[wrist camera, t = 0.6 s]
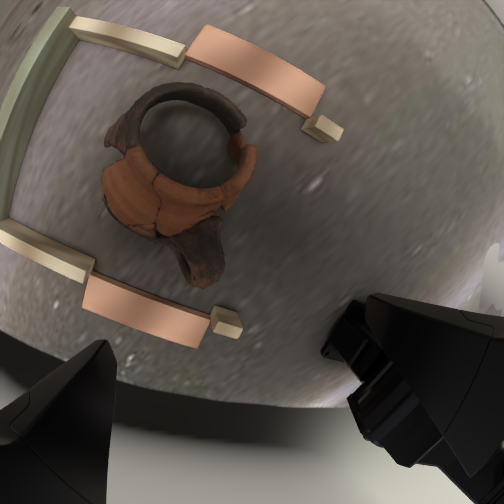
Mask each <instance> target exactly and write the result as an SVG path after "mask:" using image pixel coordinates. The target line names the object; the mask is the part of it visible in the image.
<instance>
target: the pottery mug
mask: <svg viewBox="0 0 504 504" xmlns="http://www.w3.org/2000/svg"><path fill="white" fill-rule="evenodd" d="M169 100H183V101H188V102H190V103H193V104H195V105H198V106H201V107H203V108H205V109H207V110H208V111H210V112H212V113H213V114H214V115H216V116H217V117H218V118H219V119H220V120H221V122H222V123H223V124H224V126H225V127H226V128H227V130H228V132H229V133H230V135H231V139H230V142H229V146H228V150H229V153H230V155H231V156H232V158H233V160H234V161H235V163H236V164H237V165H238V167H237V170H236V172H235V173H234V175H233V176H232V177H231V178H230V179H229V180H228V181H227V182H225V183H223V184H221V185H219V186H218V187H212V188H193V187H189V186H185V185H182V184H180V183H177V182H175V181H173V180H171V179H169V178H168V177H166V176H165V175H163V174H162V173H160V172H159V171H158V170H157V169H156V168H155V166H154V165H153V164H152V163H151V162H150V160H149V159H148V158H147V156H146V154H145V152H144V150H143V147H142V146H141V144H140V125H141V122H142V119H143V117H144V116H145V114H146V113H147V111H148V110H149V109H150V108H151V107H153V106H155V105H157V104H159V103H162V102H165V101H169ZM246 123H247V119H246V117H245V116H244V114H243V113H242V112H241V111H240V110H239V109H238V107H237V106H235V105H234V104H233V103H232V102H231V101H230V100H229V99H228V98H226V97H225V96H223V95H222V94H220V93H218V92H216V91H214V90H212V89H209V88H204V87H203V86H201V85H197V84H194V83H182V82H174V83H166V84H162V85H160V86H157V87H154V88H152V89H151V90H150V91H148V92H146V93H145V94H144V95H143V96H141V97H140V99H138V100H137V101H135V103H134V105H133V106H132V107H131V108H130V110H129V111H127V112H126V113H125V114H123V115H122V116H121V117H120V118H119V119H118V120H117V122H116V123H115V124H114V125H113V126H111V127H110V128H109V129H108V132H107V134H106V137H105V140H104V146H105V147H110V146H113V147H114V148H116V149H118V150H119V151H120V152H121V153H122V154H123V155H124V158H123V159H120V160H118V161H116V162H115V163H114V164H112V165H110V166H108V167H107V168H105V169H104V170H103V175H102V179H101V190H102V194H103V199H104V203H105V206H106V208H107V210H108V212H109V213H110V214H111V216H112V217H113V218H114V219H115V220H117V221H118V222H119V223H120V224H122V225H123V226H125V227H126V228H128V229H129V230H131V231H133V232H135V233H136V234H138V235H140V236H141V237H144V238H146V239H148V240H151V241H153V242H155V243H165V244H166V245H167V246H168V247H170V248H171V250H172V251H173V252H174V253H175V255H176V258H177V260H178V262H179V265H180V268H181V271H182V273H183V275H184V277H185V279H186V281H187V282H188V283H189V285H190V286H192V287H198V288H202V289H204V288H207V287H208V286H210V285H212V284H213V283H215V282H217V281H218V280H219V278H220V277H221V275H222V274H223V272H224V268H225V261H224V252H223V248H222V245H221V242H220V230H221V227H222V219H221V218H220V217H219V216H211V215H213V214H214V213H215V211H216V210H217V209H218V208H219V207H221V209H222V210H224V211H227V210H228V209H229V208H230V207H231V206H232V204H233V203H234V202H235V200H236V199H237V197H238V195H239V194H240V193H241V191H242V189H243V187H244V186H245V185H246V184H247V183H248V181H249V180H250V179H251V177H252V174H253V172H254V169H255V166H256V160H257V149H256V146H255V145H246V142H245V140H244V138H243V136H242V134H241V132H240V129H241V128H243V127H245V125H246Z"/></svg>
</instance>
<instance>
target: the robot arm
mask: <svg viewBox="0 0 504 504" xmlns="http://www.w3.org/2000/svg"><path fill="white" fill-rule="evenodd" d="M355 305H356V307H355ZM326 352H327V353H326ZM321 355H322V356H323V357H324V358H328V359H333V360H338V361H343V362H345V363H346V364H347V366H348V367H349V368H350V369H351V371H352V372H353V373H354V374H355V376H356V377H357V378H358V380H359V381H360V382H361V383H362V384H361V386H360V387H359V388H358V389H357V390H356V391H355V392H354V393H353V394H350V395H349V396H348V397H347V400H348V403H349V406H350V409H351V411H352V413H353V416H354V419H355V421H356V423H357V426H358V428H359V430H360V433H361V434H362V435H363V438H364V439H365V440H367V441H371V442H372V443H373V444H375V445H376V446H379V447H382V448H385V450H386V451H387V452H388V453H389V454H390V455H391V457H392V458H393V459H394V460H395V462H396V463H397V464H399V465H402V466H405V467H408V468H411V467H412V466H413V465H415V464H421V465H428V466H436V467H438V468H439V469H440V470H441V471H442V472H443V473H444V474H445V475H446V476H447V477H448V478H449V479H450V480H451V481H452V482H453V483H454V484H455V485H456V486H457V487H458V488H459V489H460V490H461V491H462V492H463V493H464V494H465V495H466V496H467V497H468V498H469V499H470V500H471V501H472V502H473V503H474V504H504V317H501V316H494V315H487V314H480V313H474V312H469V311H464V310H458V309H454V308H449V307H444V306H439V305H434V304H429V303H424V302H419V301H415V300H410V299H405V298H400V297H395V296H391V295H386V294H381V293H375V294H371V295H369V296H368V297H367V303H366V304H365V303H363V302H360V301H358V300H354V301H353V302H352V303H351V304H350V306H349V308H348V309H347V311H346V313H345V315H344V316H343V318H342V319H341V321H340V323H339V324H338V326H337V328H336V329H335V331H334V332H333V334H332V335H331V337H330V339H329V340H328V342H327V343H326V345H325V346H324V348H323V349H322V351H321ZM116 374H117V361H116V358H115V356H114V353H113V351H112V348H111V346H110V343H109V342H108V340H105V339H104V340H96V341H94V342H93V343H91V344H90V345H89V346H87V347H86V348H85V349H83V350H82V351H80V352H79V353H78V354H76V355H75V356H74V357H72V358H71V359H70V360H68V361H67V362H65V363H64V364H63V365H61V366H60V367H59V368H57V369H56V370H55V371H53V372H52V373H51V374H49V375H48V376H47V377H45V378H44V379H43V380H41V381H40V382H39V383H37V384H36V385H35V386H33V387H32V388H31V389H30V390H28V391H26V392H25V393H24V394H23V395H21V396H20V397H18V398H17V399H16V400H14V401H13V402H12V403H10V404H9V405H7V406H6V407H4V408H3V409H1V410H0V504H106V491H107V471H108V458H109V448H110V439H111V438H110V437H111V430H112V421H113V415H114V407H115V396H116Z"/></svg>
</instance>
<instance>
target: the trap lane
mask: <svg viewBox="0 0 504 504" xmlns="http://www.w3.org/2000/svg"><path fill="white" fill-rule="evenodd" d="M79 39H80V40H84V41H89V42H93V43H97V44H101V45H105V46H109V47H112V48H116V49H119V50H123V51H126V52H129V53H133V54H136V55H139V56H142V57H145V58H148V59H151V60H154V61H157V62H160V63H162V64H165V65H168V66H170V67H173V68H176V69H179V67H180V66H181V64H182V63H183V61H184V60H185V59H188V60H190V61H193V62H195V63H198V64H200V65H202V66H205V67H207V68H209V69H212V70H214V71H216V72H219V73H221V74H223V75H225V76H227V77H230V78H232V79H234V80H236V81H238V82H240V83H242V84H244V85H246V86H248V87H250V88H252V89H254V90H256V91H258V92H260V93H262V94H264V95H265V96H267V97H269V98H271V99H273V100H275V101H276V102H278V103H280V104H282V105H284V106H285V107H287V108H289V109H291V110H292V111H294V112H296V113H297V114H299V115H301V116H302V117H304V118H306V120H305V122H304V124H303V126H302V128H301V130H302V131H304V132H305V133H307V134H309V135H310V136H312V137H314V138H315V139H317V140H318V141H320V142H322V143H326V142H336V141H339V139H340V136H341V134H342V132H343V129H342V128H341V127H339V126H338V125H336V124H335V123H333V122H332V121H330V120H329V119H327V118H326V117H324V116H323V115H321V114H320V115H317V116H313V117H311V115H312V113H313V111H314V109H315V107H316V105H317V103H318V101H319V99H320V97H321V96H322V94H323V92H324V90H325V88H326V86H324V85H323V84H321V83H320V82H318V81H317V80H315V79H314V78H312V77H311V76H309V75H307V74H306V73H304V72H302V71H301V70H299V69H297V68H296V67H294V66H292V65H291V64H289V63H287V62H285V61H284V60H282V59H280V58H278V57H276V56H274V55H273V54H271V53H269V52H267V51H265V50H263V49H261V48H259V47H257V46H255V45H253V44H251V43H249V42H247V41H245V40H242V39H240V38H238V37H236V36H234V35H231V34H229V33H227V32H224V31H222V30H220V29H217V28H215V27H212V26H210V25H207V24H206V25H205V27H204V28H203V29H202V31H201V32H200V34H199V35H198V36H197V38H196V39H195V41H194V42H193V44H192V45H191V47H190V48H189V50H188V51H187V53H186V54H185V45H183V44H180V43H178V42H175V41H172V40H169V39H166V38H163V37H160V36H157V35H154V34H150V33H147V32H144V31H140V30H137V29H133V28H130V27H126V26H122V25H118V24H114V23H109V22H105V21H100V20H95V19H90V18H84V17H78V16H76V15H75V14H74V12H73V11H72V10H71V8H69V7H60V6H58V7H57V8H56V10H55V11H54V12H53V14H52V15H51V17H50V18H49V19H48V21H47V22H46V24H45V25H44V27H43V28H42V30H41V31H40V33H39V34H38V36H37V38H36V39H35V41H34V43H33V44H32V46H31V48H30V49H29V51H28V53H27V54H26V56H25V58H24V60H23V62H22V64H21V66H20V67H19V69H18V71H17V73H16V75H15V77H14V79H13V81H12V84H11V86H10V88H9V90H8V92H7V95H6V97H5V99H4V102H3V104H2V107H1V109H0V243H2V244H4V245H5V246H7V247H9V248H11V249H13V250H14V251H16V252H18V253H20V254H22V255H24V256H26V257H28V258H30V259H32V260H34V261H35V262H37V263H39V264H41V265H44V266H46V267H48V268H50V269H52V270H54V271H56V272H58V273H60V274H62V275H64V276H67V277H69V278H71V279H73V280H75V281H78V282H80V283H82V284H83V282H84V281H85V280H86V279H87V277H88V276H89V279H88V283H87V287H86V291H85V296H84V300H83V305H82V307H83V308H85V309H87V310H90V311H92V312H94V313H97V314H99V315H102V316H104V317H107V318H109V319H112V320H114V321H117V322H119V323H122V324H125V325H127V326H130V327H133V328H135V329H138V330H141V331H144V332H146V333H149V334H152V335H155V336H158V337H161V338H164V339H167V340H170V341H173V342H176V343H180V344H183V345H186V346H189V347H193V348H196V349H197V348H198V346H199V344H200V342H201V339H202V337H203V335H204V333H205V331H206V329H207V327H208V325H209V323H210V321H211V324H212V329H213V332H214V333H218V334H221V335H224V336H228V337H231V338H235V339H238V338H239V336H240V334H241V332H242V330H243V327H242V324H241V322H240V319H239V316H238V313H237V312H234V311H231V310H228V309H225V308H222V307H219V306H216V305H214V307H213V310H212V312H211V314H210V315H208V314H205V313H202V312H199V311H196V310H193V309H190V308H187V307H185V306H182V305H179V304H176V303H173V302H170V301H168V300H165V299H162V298H160V297H157V296H154V295H152V294H149V293H146V292H144V291H141V290H139V289H136V288H133V287H131V286H128V285H126V284H123V283H121V282H118V281H116V280H114V279H111V278H109V277H106V276H104V275H102V274H99V273H97V272H95V271H93V267H94V263H95V260H96V259H94V258H92V257H90V256H87V255H85V254H83V253H81V252H78V251H76V250H74V249H72V248H69V247H67V246H65V245H63V244H61V243H59V242H56V241H54V240H52V239H50V238H48V237H46V236H44V235H42V234H40V233H38V232H36V231H34V230H32V229H30V228H27V227H25V226H24V225H22V224H20V223H18V222H16V221H14V220H12V219H10V218H8V216H9V211H10V206H11V202H12V197H13V193H14V189H15V185H16V181H17V177H18V174H19V170H20V167H21V164H22V160H23V157H24V154H25V151H26V148H27V145H28V142H29V140H30V137H31V134H32V132H33V129H34V126H35V124H36V121H37V119H38V117H39V114H40V112H41V110H42V107H43V105H44V103H45V101H46V98H47V96H48V94H49V92H50V90H51V88H52V86H53V84H54V82H55V80H56V78H57V76H58V75H59V73H60V71H61V69H62V67H63V65H64V64H65V62H66V60H67V59H68V57H69V55H70V53H71V52H72V50H73V49H74V47H75V45H76V44H77V42H78V41H79Z"/></svg>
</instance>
